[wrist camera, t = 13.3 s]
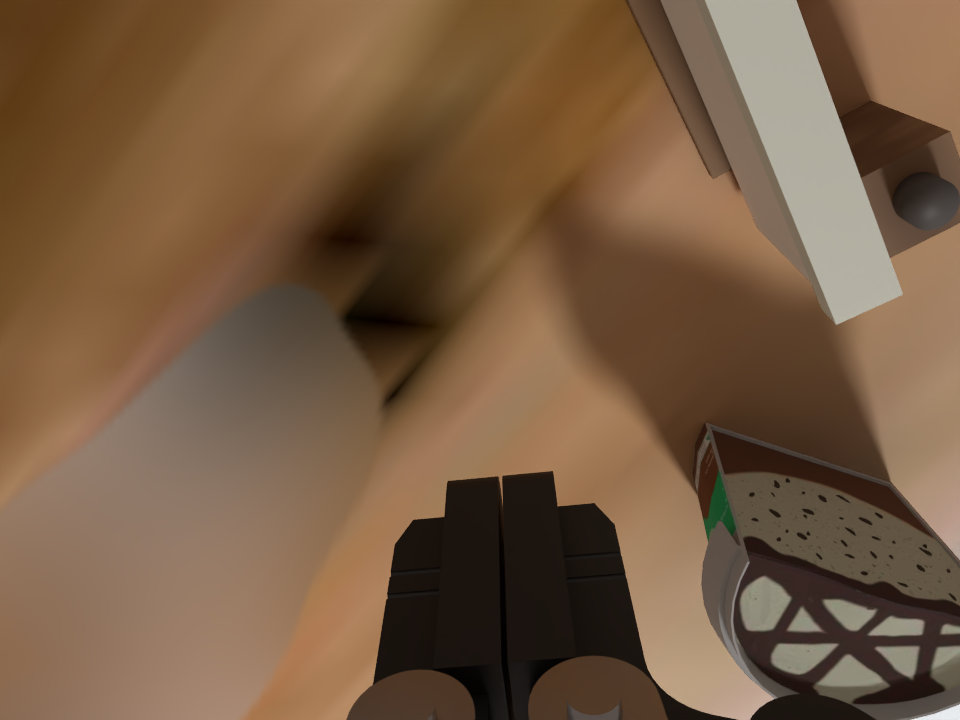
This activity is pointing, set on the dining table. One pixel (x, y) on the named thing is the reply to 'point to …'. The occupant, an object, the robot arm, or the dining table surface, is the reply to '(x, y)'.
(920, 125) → the latch post
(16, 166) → the dining table surface
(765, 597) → the food container
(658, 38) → the sill
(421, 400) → the dining table surface
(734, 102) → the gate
